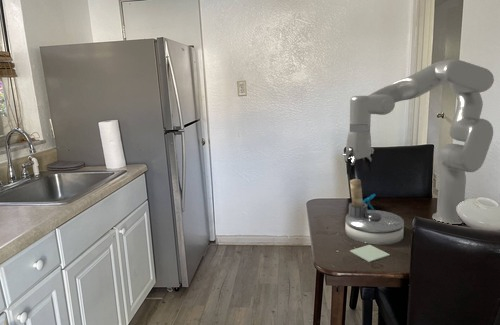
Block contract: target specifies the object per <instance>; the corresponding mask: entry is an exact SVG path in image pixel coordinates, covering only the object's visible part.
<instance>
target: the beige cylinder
mask: <svg viewBox="0 0 500 325" xmlns="http://www.w3.org/2000/svg"><path fill="white" fill-rule="evenodd" d="M349 184H350V194H351V203H352V205H353V206H355V207H363V200H364V199H363V192H362V191H363V189H362V181H361V179H359V178H353V179H350V180H349Z"/></svg>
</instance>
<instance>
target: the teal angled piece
mask: <svg viewBox="0 0 500 325" xmlns="http://www.w3.org/2000/svg"><path fill="white" fill-rule="evenodd" d="M375 197H376V193H373V194H371V195H369V196H367V197H366V198H364V199H363V203H365V204H367V206H368V207H369V208H370V210H375V208H374V207H373V205H372V204H371V202H370V201H371V200H373V199H374V198H375Z"/></svg>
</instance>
